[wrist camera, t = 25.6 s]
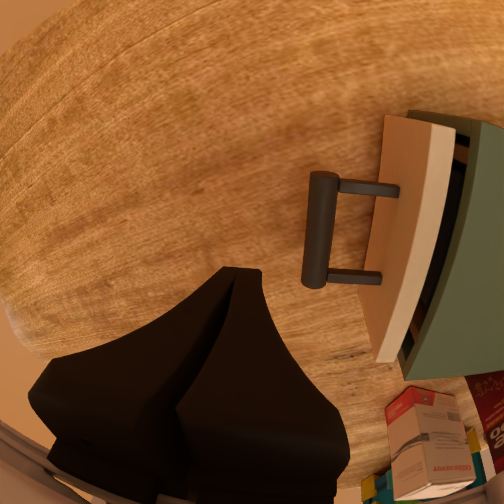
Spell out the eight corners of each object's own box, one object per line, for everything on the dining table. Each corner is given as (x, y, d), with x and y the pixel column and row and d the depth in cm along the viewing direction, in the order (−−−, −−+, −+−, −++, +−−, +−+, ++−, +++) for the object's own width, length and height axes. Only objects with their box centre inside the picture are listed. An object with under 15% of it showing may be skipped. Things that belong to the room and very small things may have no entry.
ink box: (380, 410, 29) (391, 503, 18) (409, 384, 26) (431, 484, 16) (429, 418, 29) (445, 498, 19) (456, 395, 27) (481, 478, 17)
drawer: (296, 290, 22) (294, 361, 16) (308, 105, 16) (318, 106, 10) (497, 297, 20) (533, 349, 14) (537, 155, 14) (596, 183, 8)
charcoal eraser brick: (409, 276, 19) (425, 307, 16) (434, 159, 15) (460, 173, 12) (440, 278, 18) (458, 307, 15) (467, 166, 15) (497, 181, 12)
